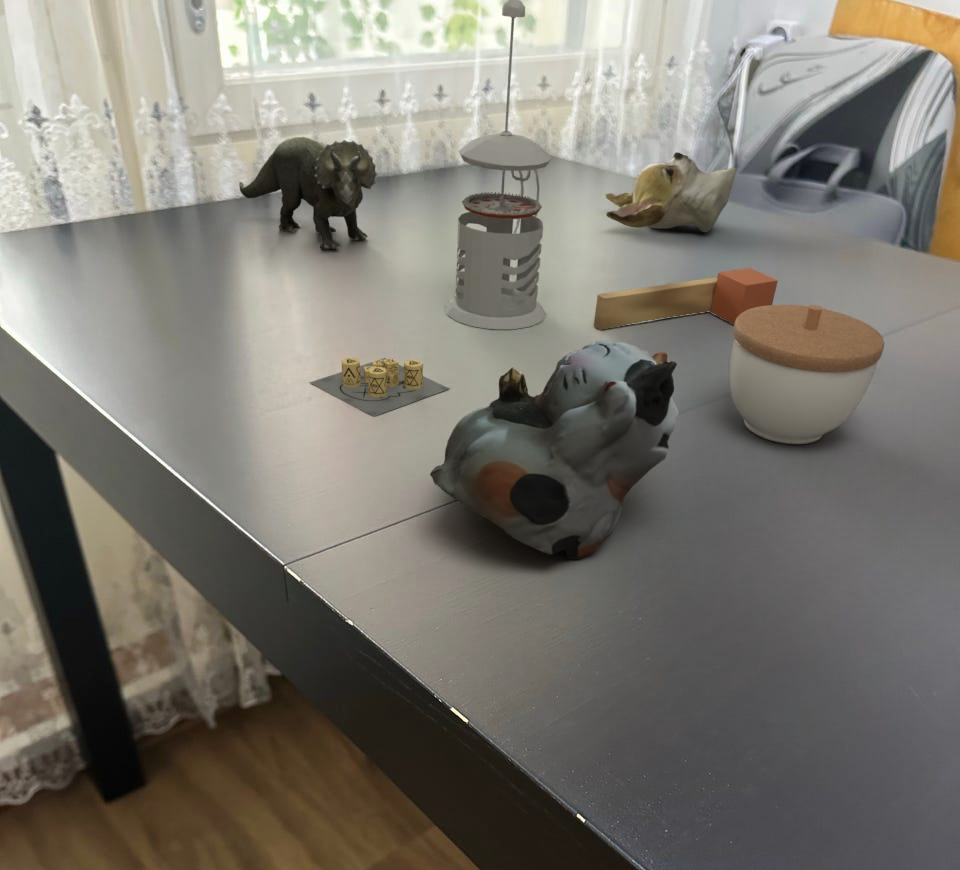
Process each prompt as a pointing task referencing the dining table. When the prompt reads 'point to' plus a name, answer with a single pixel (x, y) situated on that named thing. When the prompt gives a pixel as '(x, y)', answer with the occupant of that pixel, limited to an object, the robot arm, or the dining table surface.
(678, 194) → the ceramic sculpture
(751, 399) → the trinket box
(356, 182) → the toy dinosaur
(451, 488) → the lucky cat figurine
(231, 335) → the dining table surface
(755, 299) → the terracotta block
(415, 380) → the dice set
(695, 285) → the guide rail
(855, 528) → the dining table surface
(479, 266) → the french press
